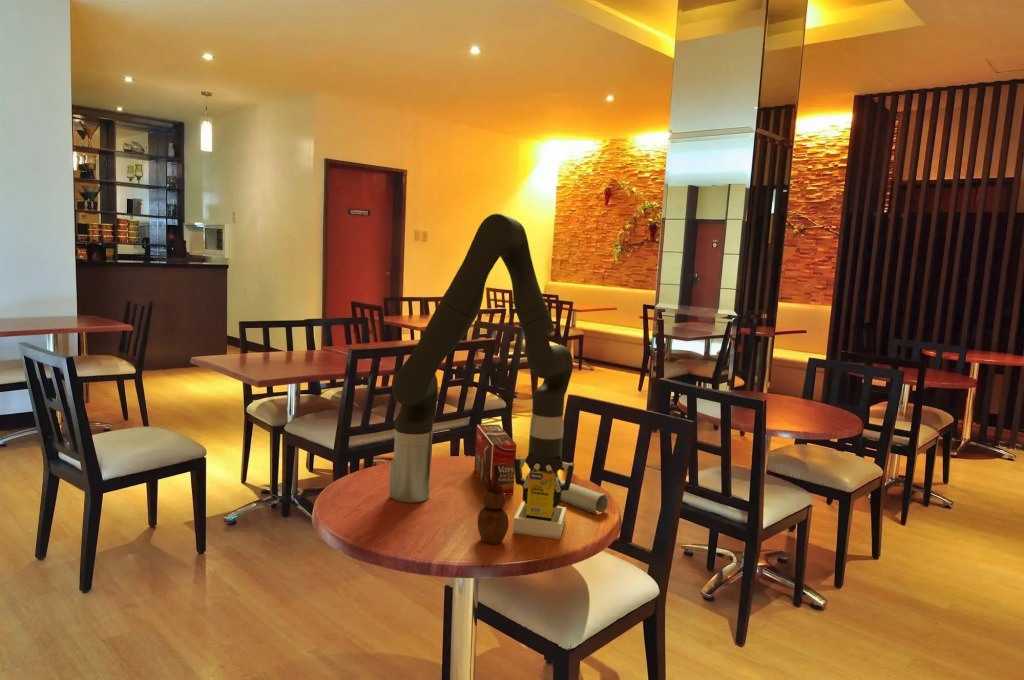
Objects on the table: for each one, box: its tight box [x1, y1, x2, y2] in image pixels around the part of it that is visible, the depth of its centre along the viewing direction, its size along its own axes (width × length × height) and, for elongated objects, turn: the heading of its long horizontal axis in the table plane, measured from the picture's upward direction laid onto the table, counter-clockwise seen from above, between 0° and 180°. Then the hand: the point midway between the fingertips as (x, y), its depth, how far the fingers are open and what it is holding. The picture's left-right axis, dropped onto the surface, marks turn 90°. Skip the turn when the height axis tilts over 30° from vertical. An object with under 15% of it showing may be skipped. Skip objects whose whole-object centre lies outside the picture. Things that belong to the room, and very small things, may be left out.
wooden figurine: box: [477, 472, 509, 545], centre depth 149 cm, size 7×6×15 cm
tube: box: [524, 472, 609, 516], centre depth 178 cm, size 5×5×25 cm
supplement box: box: [526, 469, 559, 521], centre depth 158 cm, size 6×6×11 cm
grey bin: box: [512, 501, 567, 540], centre depth 159 cm, size 11×11×4 cm
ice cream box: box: [473, 424, 517, 494], centre depth 188 cm, size 20×6×13 cm, turn 14°
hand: (541, 504), depth 159 cm, fingers closed on supplement box, 6 cm apart
